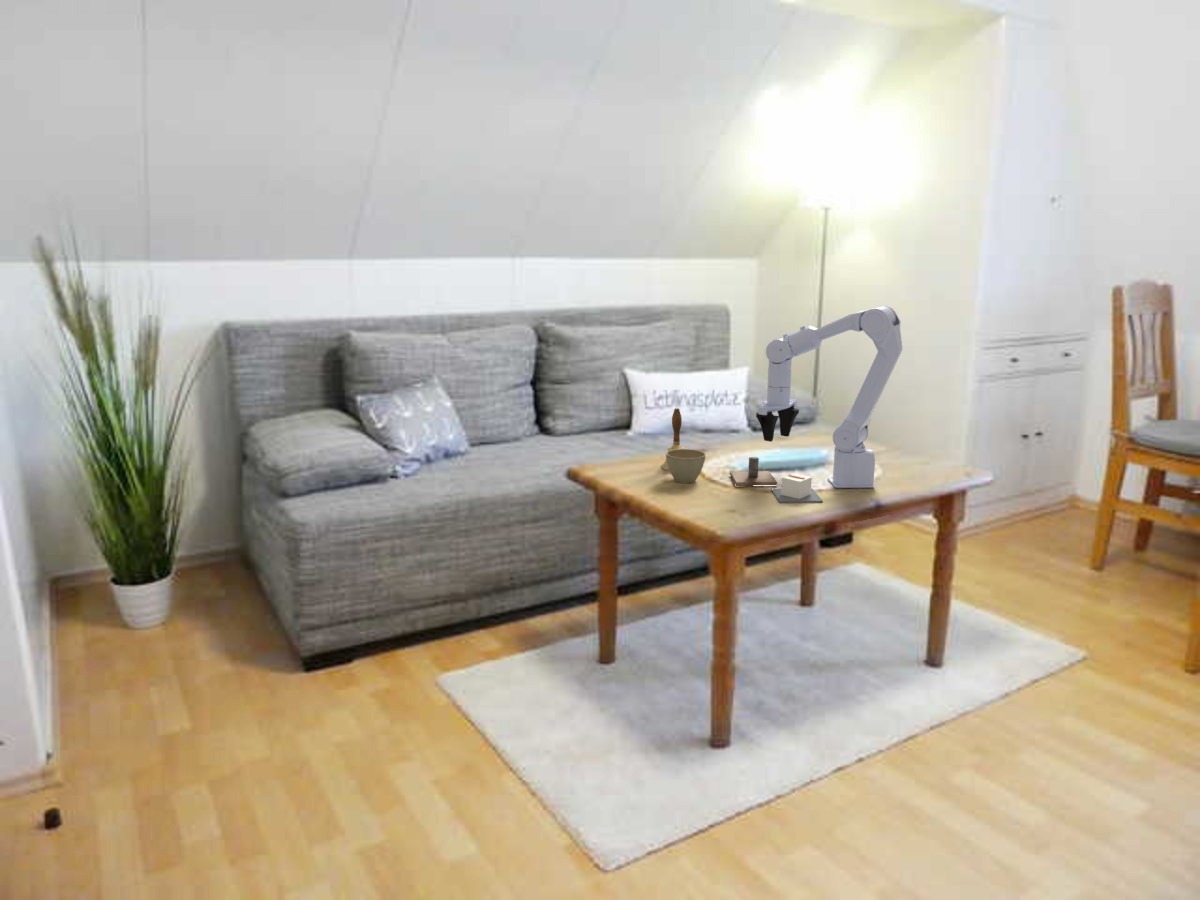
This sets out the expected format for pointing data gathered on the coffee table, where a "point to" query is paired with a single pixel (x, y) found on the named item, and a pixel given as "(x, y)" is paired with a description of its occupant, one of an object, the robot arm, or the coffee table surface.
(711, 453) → the coffee table surface
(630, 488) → the coffee table surface
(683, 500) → the coffee table surface
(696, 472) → the flower pot
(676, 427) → the hand bell
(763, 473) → the post stand
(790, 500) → the mat
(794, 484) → the cream cube
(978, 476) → the coffee table surface
